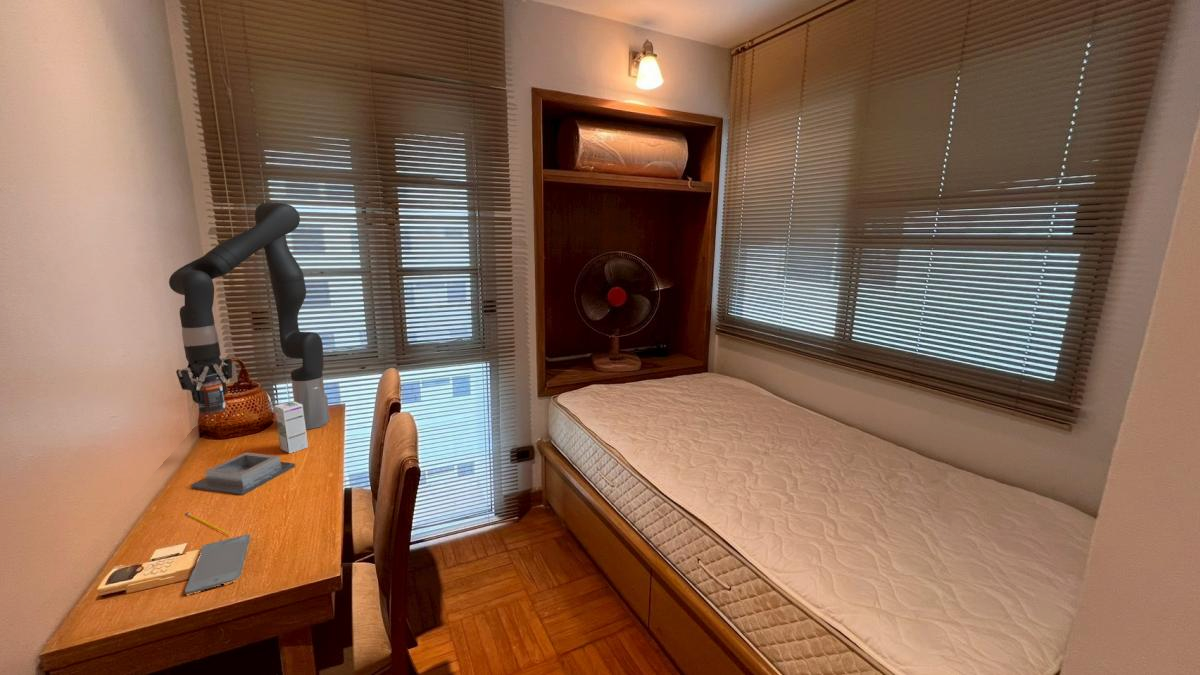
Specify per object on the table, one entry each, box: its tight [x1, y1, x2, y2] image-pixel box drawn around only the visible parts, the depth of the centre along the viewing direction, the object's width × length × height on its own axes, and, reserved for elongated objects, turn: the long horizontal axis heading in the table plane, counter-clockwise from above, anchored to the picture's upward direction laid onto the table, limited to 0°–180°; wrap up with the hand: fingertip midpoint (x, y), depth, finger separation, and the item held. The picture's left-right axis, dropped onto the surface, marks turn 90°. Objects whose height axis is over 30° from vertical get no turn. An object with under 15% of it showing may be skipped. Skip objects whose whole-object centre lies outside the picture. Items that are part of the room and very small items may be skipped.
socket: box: [190, 452, 296, 496], centre depth 127 cm, size 16×16×4 cm
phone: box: [184, 534, 251, 595], centre depth 93 cm, size 8×16×1 cm, turn 30°
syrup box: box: [274, 400, 309, 454], centre depth 144 cm, size 6×6×14 cm
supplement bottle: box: [197, 374, 227, 416], centre depth 134 cm, size 6×6×11 cm
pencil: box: [184, 511, 232, 536], centre depth 106 cm, size 1×18×1 cm, turn 64°
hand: (210, 398), depth 134 cm, fingers closed on supplement bottle, 6 cm apart
